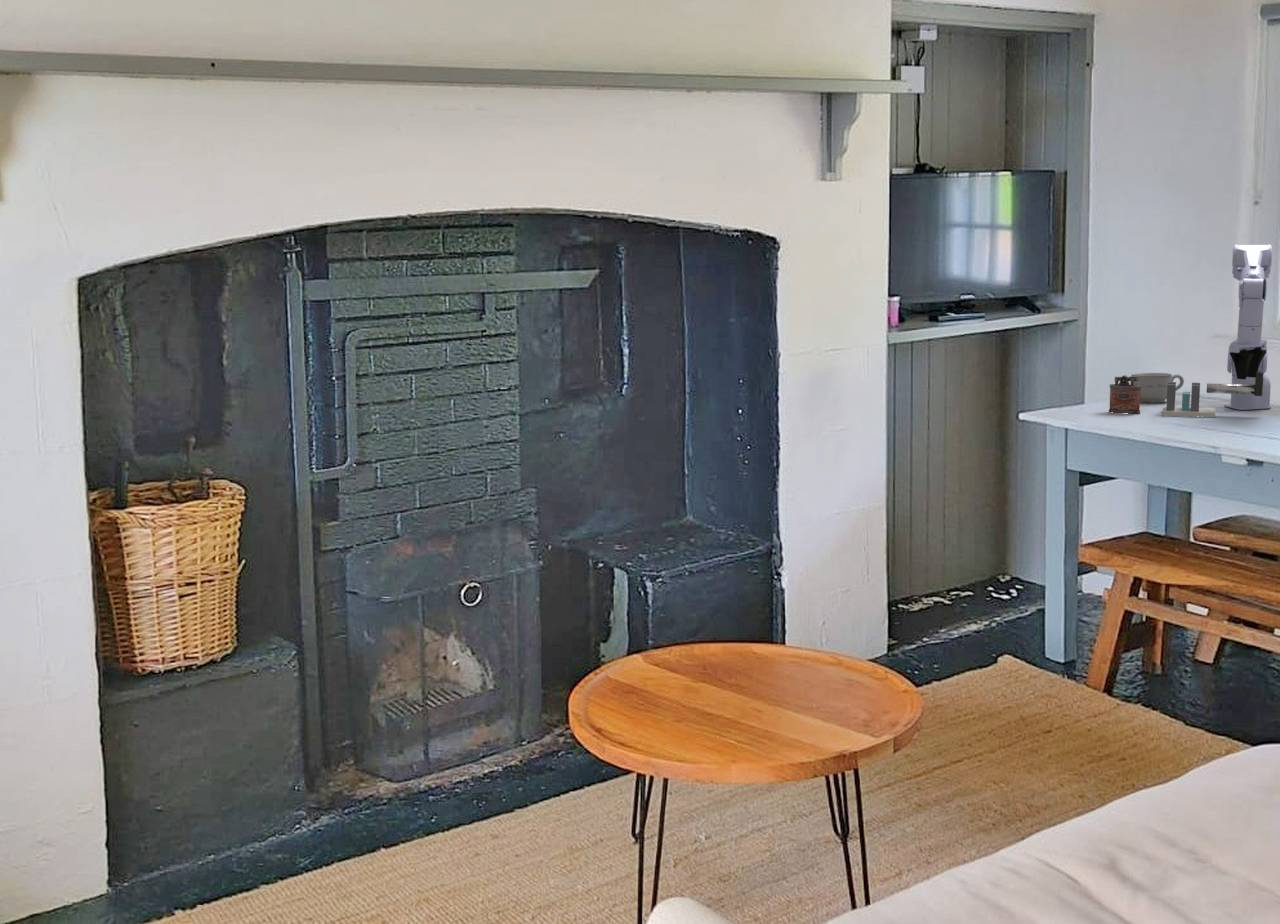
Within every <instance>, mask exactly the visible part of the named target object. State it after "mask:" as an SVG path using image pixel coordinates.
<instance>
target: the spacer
mask: <svg viewBox="0 0 1280 924" xmlns="http://www.w3.org/2000/svg"><path fill="white" fill-rule="evenodd" d="M1181 398H1182V399H1181V407H1182V411H1189V407H1190V403H1191V392H1190V391H1182V397H1181Z"/></svg>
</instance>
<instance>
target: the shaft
mask: <svg viewBox="0 0 1280 924" xmlns="http://www.w3.org/2000/svg"><path fill="white" fill-rule="evenodd" d="M1263 375H1264V374H1263V372H1257V373H1256V377H1255V385H1248V384H1232V383H1210V382H1209V383H1206V394H1228V395H1231V394H1254V395H1255V396H1262V390H1263Z"/></svg>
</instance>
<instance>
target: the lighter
mask: <svg viewBox="0 0 1280 924" xmlns="http://www.w3.org/2000/svg"><path fill="white" fill-rule="evenodd" d="M1138 381H1139V378H1138V377H1134V376H1128V375H1126V374H1123V375H1122V376H1114V383H1111V384H1109V409H1108V413H1109V412H1113V413H1112V414H1115V413H1128V414H1127V415H1134V414H1137V415H1141V410H1140V406H1141V402H1140V389H1141V385H1134V382H1138Z"/></svg>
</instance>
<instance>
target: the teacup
mask: <svg viewBox="0 0 1280 924" xmlns="http://www.w3.org/2000/svg"><path fill="white" fill-rule="evenodd" d="M1131 376H1134V377H1138V378H1139V381H1138V382H1134V385H1141V389H1140V403H1163V402H1165V401H1167V386H1168V382H1174V380H1175V379H1179V383H1178V384H1177V385H1176V392H1177V391H1178V390H1180V389H1181V388H1182V387H1183V386H1184V383H1185V379H1184V377H1183V375H1181V374H1177V373H1175V374H1172V373H1167V372H1140V373H1131Z"/></svg>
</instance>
